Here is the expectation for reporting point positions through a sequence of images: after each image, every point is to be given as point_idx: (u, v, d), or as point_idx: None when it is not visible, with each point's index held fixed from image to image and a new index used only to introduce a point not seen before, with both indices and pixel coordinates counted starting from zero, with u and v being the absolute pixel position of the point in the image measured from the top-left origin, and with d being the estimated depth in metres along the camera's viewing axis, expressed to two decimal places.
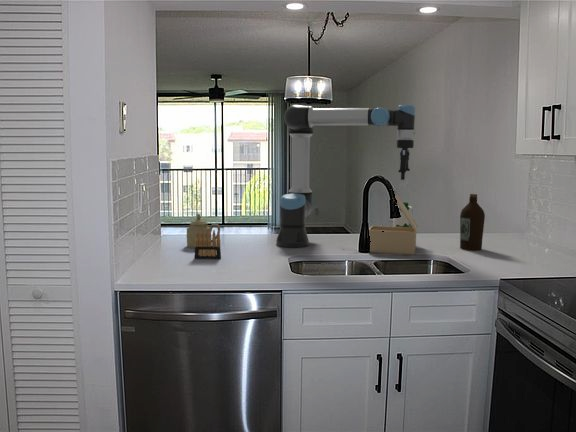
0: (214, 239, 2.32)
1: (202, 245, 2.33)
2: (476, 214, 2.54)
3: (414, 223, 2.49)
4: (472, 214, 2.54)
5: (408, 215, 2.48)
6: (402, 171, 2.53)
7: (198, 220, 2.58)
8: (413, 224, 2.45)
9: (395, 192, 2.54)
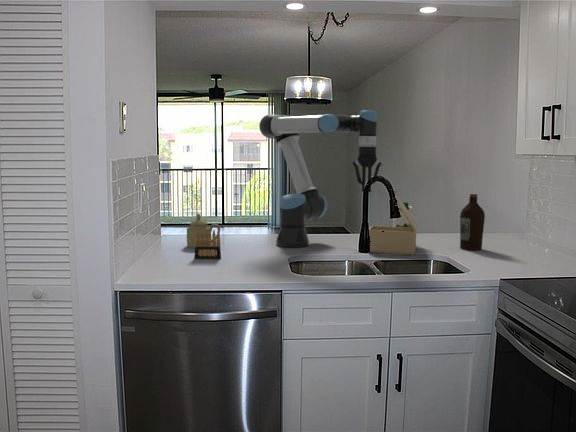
0: (214, 239, 2.32)
1: (202, 245, 2.33)
2: (476, 214, 2.54)
3: (414, 223, 2.49)
4: (472, 214, 2.54)
5: (408, 215, 2.48)
6: (360, 183, 2.54)
7: (198, 220, 2.58)
8: (413, 224, 2.45)
9: (395, 192, 2.54)
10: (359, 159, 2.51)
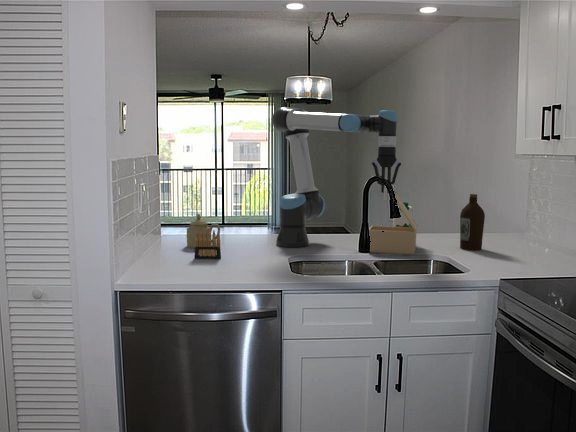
0: (214, 239, 2.32)
1: (202, 245, 2.33)
2: (476, 214, 2.54)
3: (414, 223, 2.49)
4: (472, 214, 2.54)
5: (408, 215, 2.48)
6: None
7: (198, 220, 2.58)
8: (413, 224, 2.45)
9: (395, 192, 2.54)
10: (378, 159, 2.49)
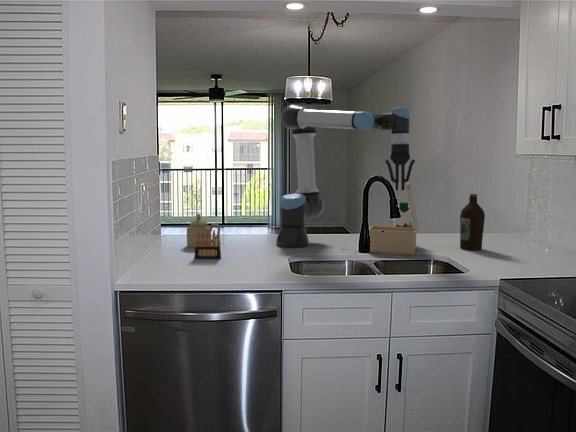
0: (214, 239, 2.32)
1: (202, 245, 2.33)
2: (476, 214, 2.54)
3: (416, 223, 2.49)
4: (472, 214, 2.54)
5: (414, 213, 2.47)
6: (393, 181, 2.50)
7: (198, 220, 2.58)
8: (415, 224, 2.44)
9: (410, 187, 2.52)
10: (392, 157, 2.47)
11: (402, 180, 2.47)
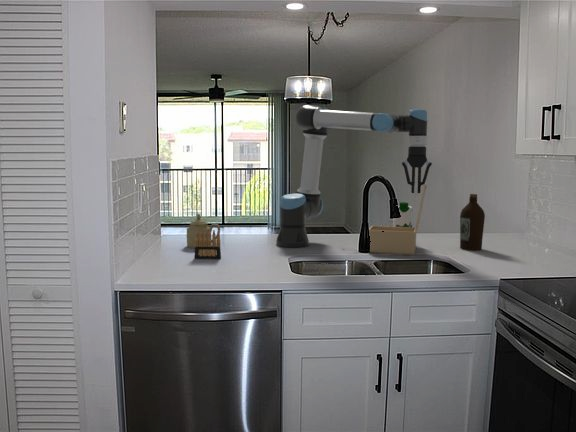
0: (214, 239, 2.32)
1: (202, 245, 2.33)
2: (476, 214, 2.54)
3: (418, 224, 2.49)
4: (472, 214, 2.54)
5: None
6: None
7: (198, 220, 2.58)
8: None
9: None
10: (409, 159, 2.46)
11: (418, 183, 2.46)
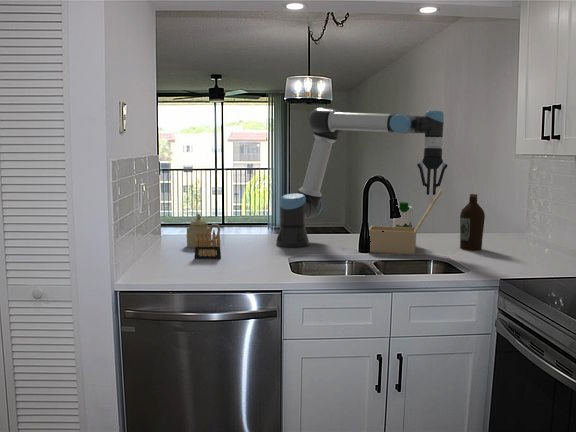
0: (214, 239, 2.32)
1: (202, 245, 2.33)
2: (476, 214, 2.54)
3: None
4: (472, 214, 2.54)
5: None
6: (424, 185, 2.46)
7: (198, 220, 2.58)
8: None
9: None
10: (424, 161, 2.44)
11: (434, 185, 2.44)
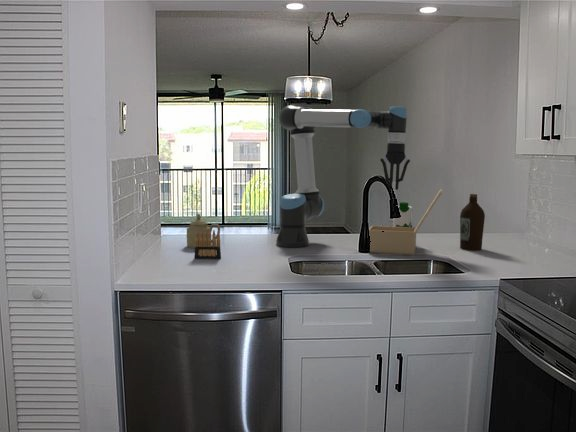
0: (214, 239, 2.32)
1: (202, 245, 2.33)
2: (476, 214, 2.54)
3: None
4: (472, 214, 2.54)
5: None
6: (387, 180, 2.50)
7: (198, 220, 2.58)
8: None
9: None
10: (387, 156, 2.48)
11: (396, 179, 2.48)
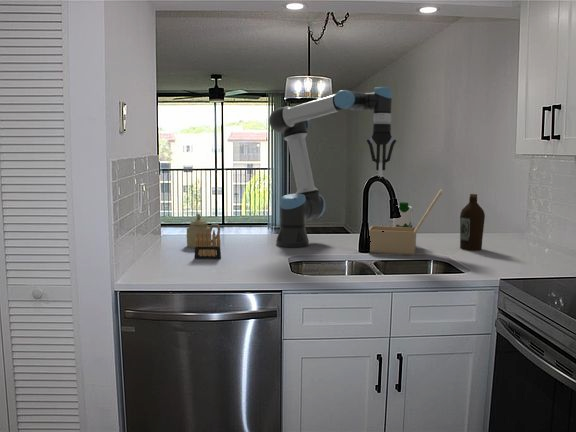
0: (214, 239, 2.32)
1: (202, 245, 2.33)
2: (476, 214, 2.54)
3: None
4: (472, 214, 2.54)
5: None
6: (374, 161, 2.51)
7: (198, 220, 2.58)
8: None
9: None
10: (373, 137, 2.48)
11: (383, 160, 2.48)
